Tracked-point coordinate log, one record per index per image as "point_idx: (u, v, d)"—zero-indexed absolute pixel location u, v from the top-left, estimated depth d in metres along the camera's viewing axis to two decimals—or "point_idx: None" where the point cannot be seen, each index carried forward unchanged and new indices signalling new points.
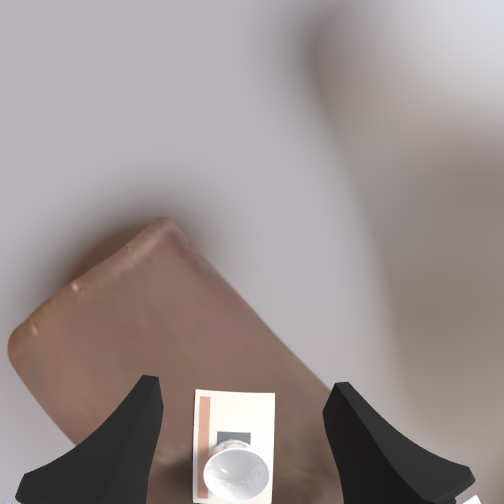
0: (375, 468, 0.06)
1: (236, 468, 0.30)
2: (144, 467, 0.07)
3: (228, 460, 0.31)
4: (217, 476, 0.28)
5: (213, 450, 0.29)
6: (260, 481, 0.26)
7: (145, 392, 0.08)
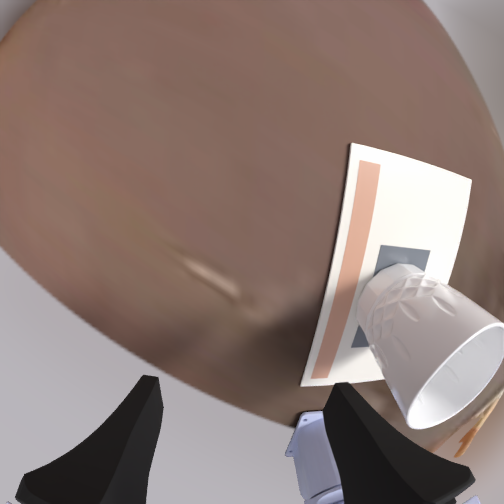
0: (375, 468, 0.06)
1: None
2: (144, 467, 0.07)
3: None
4: None
5: (400, 305, 0.14)
6: (460, 369, 0.14)
7: (145, 392, 0.08)
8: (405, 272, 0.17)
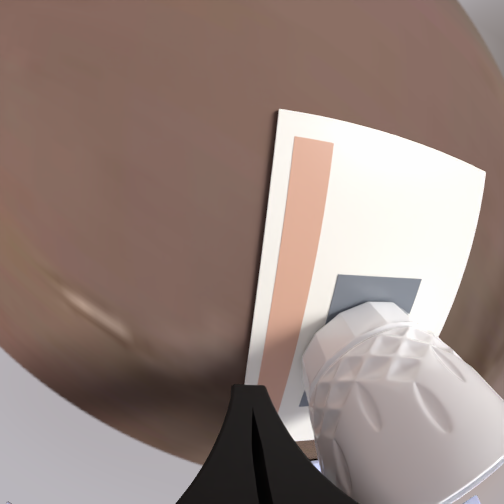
0: (263, 485, 0.06)
1: None
2: None
3: None
4: None
5: (356, 390, 0.08)
6: None
7: (246, 402, 0.09)
8: (376, 321, 0.11)
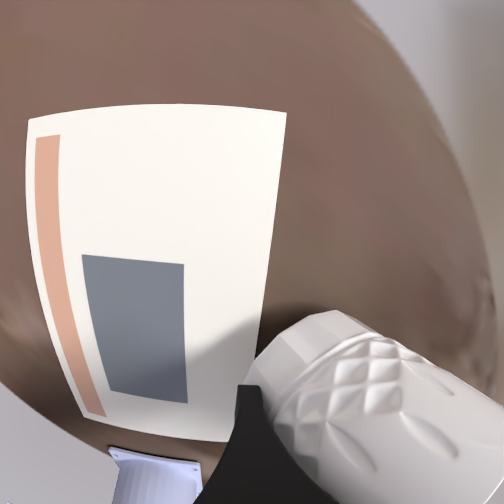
0: None
1: None
2: None
3: None
4: None
5: (330, 432, 0.06)
6: None
7: (256, 402, 0.09)
8: (328, 340, 0.09)
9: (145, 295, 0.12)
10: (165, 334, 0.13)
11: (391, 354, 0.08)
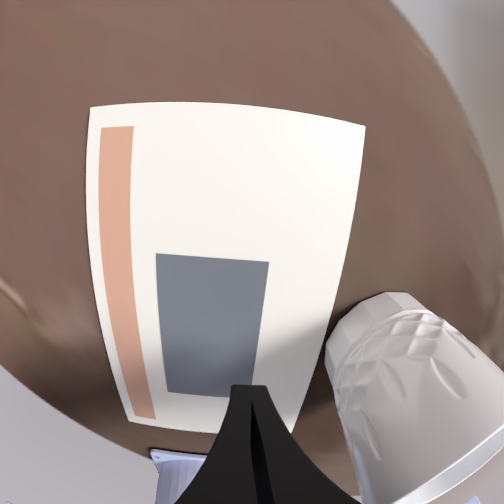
0: (264, 485, 0.06)
1: None
2: None
3: None
4: None
5: (381, 367, 0.09)
6: None
7: (245, 402, 0.09)
8: (394, 308, 0.12)
9: (225, 293, 0.13)
10: (240, 331, 0.13)
11: (437, 324, 0.10)
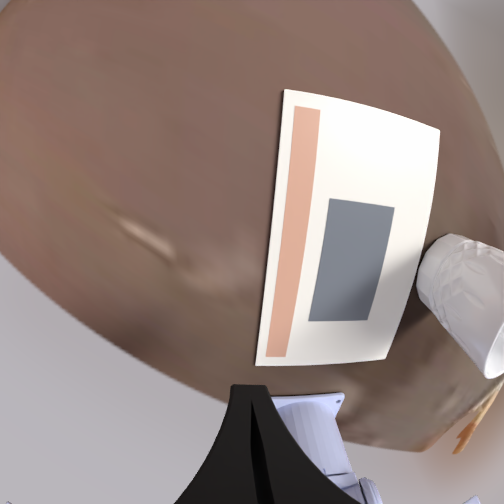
0: (264, 485, 0.06)
1: None
2: None
3: None
4: None
5: (465, 264, 0.14)
6: None
7: (245, 402, 0.09)
8: (459, 239, 0.17)
9: (369, 228, 0.18)
10: (373, 258, 0.18)
11: None
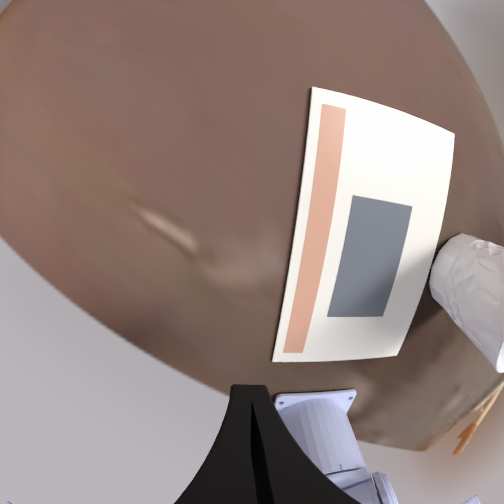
0: (265, 485, 0.06)
1: None
2: None
3: None
4: None
5: (478, 263, 0.14)
6: None
7: (245, 402, 0.09)
8: (471, 239, 0.17)
9: (388, 226, 0.18)
10: (391, 255, 0.18)
11: None
